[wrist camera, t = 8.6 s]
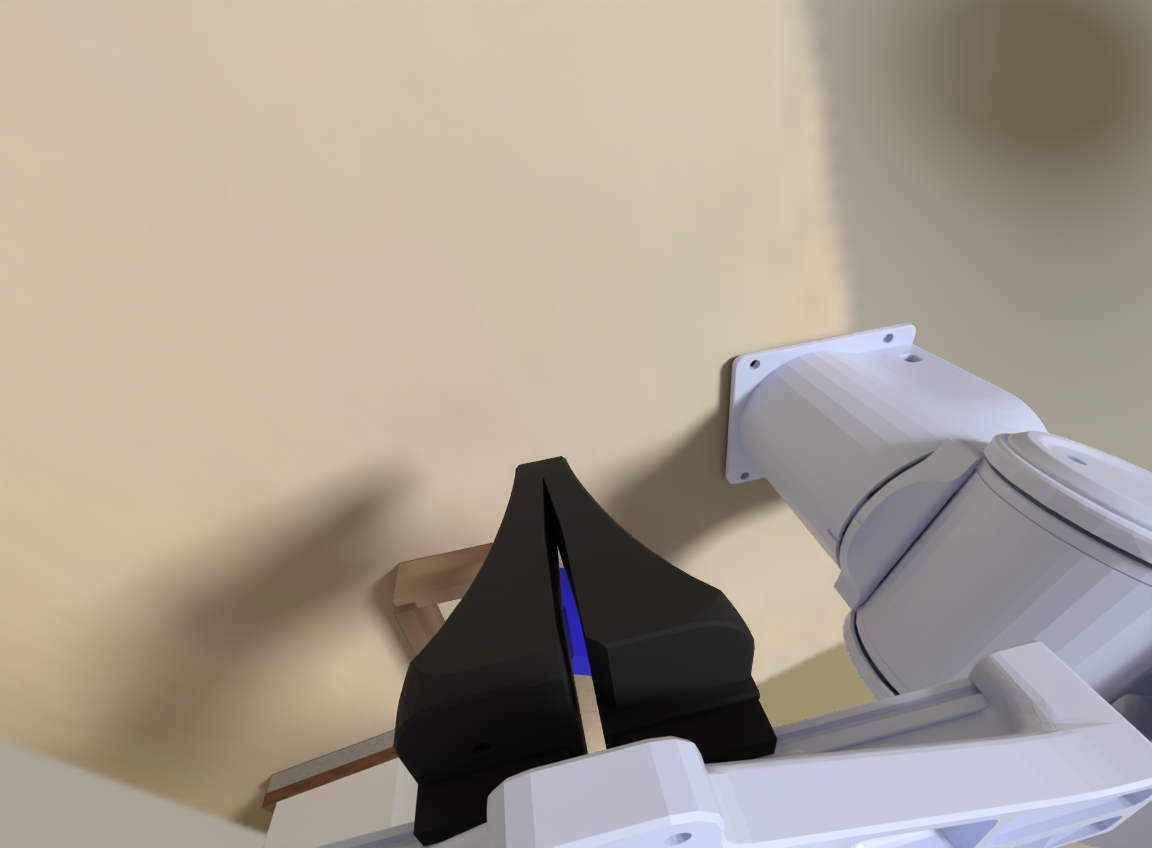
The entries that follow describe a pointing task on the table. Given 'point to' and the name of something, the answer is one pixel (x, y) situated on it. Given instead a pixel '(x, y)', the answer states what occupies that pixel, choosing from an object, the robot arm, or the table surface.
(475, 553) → the frame
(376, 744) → the display case
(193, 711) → the table surface
